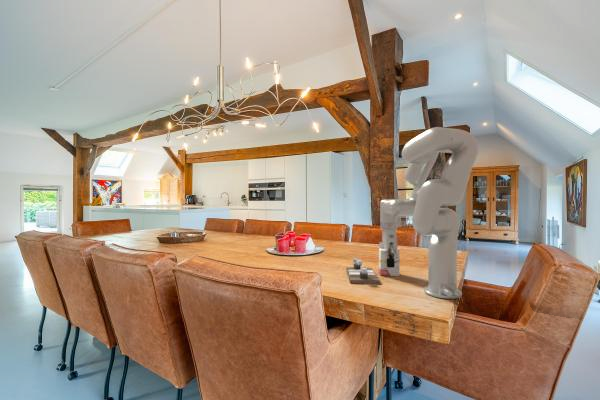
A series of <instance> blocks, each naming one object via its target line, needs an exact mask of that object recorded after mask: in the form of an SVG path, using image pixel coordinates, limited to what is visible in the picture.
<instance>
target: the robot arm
mask: <svg viewBox="0 0 600 400" xmlns="http://www.w3.org/2000/svg"><path fill="white" fill-rule="evenodd" d="M478 152H479V144H478V141H477V139H476V137H475V136H474V135H473V133H470V131H466V130H463V129H459V128H452V127H451V128H450V127H441V126H435V127H431V128H428V129H427V130H424V131H423V132H421V133H420V134H418V135H416V136H415V137H413V138H412V139H410V140H409V141H407V142H406V143H405V145H404V146H403V148H402V150H401V158H402V160H403V161H404V163H407V164H408V166H407V168H406V171H405V173H404V176H403V178H404V180H405V181H406V182H407V183H409V184H410V185H412V186H413V189H412V193H411V194H410V197H409V198H397V199H396V198H395V199H389V198H388V199H382V200H381V201H380V203H379V208H380V209H379V211H380V212H379V215H380V216H379V219H380V221H379V222H380V223H379V224H380V225H379V226H380V230H382V232H381V233H382V235H381V237H382V241H381V242H383V249H385V250H386V252H387V257H388V258H387V267H394V251H396V252H397V249H398V237H397V230H398V218H399V217H410V216H411V221H412V222H411V223H412V227H413V229H414V231H415V232H416V234H418V235H421V236H430V238H429V241H428V246H427V247H428V248H427V249H428V252H427V253H428V255H427V256H428V262H427V263H428V266H427V267H428V276H427V277H428V285H426V286H424V287H423V292H424V293H425V294H427V295H428V296H431V297H433V298H434V297H435V298H439V299H445V300H447V299H448V300H449V299H450V300H453V299H459V298H461V297H462V296H463V292H462V291H461V290H460V289H459V288H458V237H459V236H458V235H459V233H460V225H461V219H460V216H459V214H458V213H457V212H456V211H455V210H453V209H452V208H448V207H453V206H457V205H459V204H460V203H461V202H462V201H463V199H464V197H465V193H466V189H467V185H468V184H469V183H468V182H469V180H470V176H471V173H472V170H473V166H474V164H475V162H476V159H477V156H478ZM439 153H443V154H445V153H446V154H451V156H450V157H449V158H448V159H447V161H446V163H445V164H444V166H443V170H442V173H441V177H440V178H439V179H438V178H437V179H436V178H434V179H433V178H432V179H429V180H427V179H428V177H429V175H430V172H431V171H432V170H433V167H434V166H435V163H436V161H437V159H438V157H439ZM388 250H390V251H388ZM389 253H390V254H389Z"/></svg>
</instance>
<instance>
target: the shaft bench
mask: <svg viewBox="0 0 600 400" xmlns="http://www.w3.org/2000/svg"><path fill="white" fill-rule="evenodd" d="M352 263H353V267H350V266H349V267H346V270H345V271H346V273H347V276H348V277H347V278H348V281H349V283H350V284H357V285H358V284H361V285H362V284H366V285H372V284H373V285H379V284H380V279H379V278H378V275H377V274H376V273H375V271H374V270H373V268H372V267H366V265H363V261H362V260H361V259H359V258H357V257H356V258H352Z"/></svg>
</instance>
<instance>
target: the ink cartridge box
mask: <svg viewBox="0 0 600 400" xmlns="http://www.w3.org/2000/svg"><path fill="white" fill-rule="evenodd" d="M378 246H379V248H378V274H379V275H380V276H381V277H382V276H384V277H390V276H391V277H400V259H401V258H400V257H401V256H400V254H401V253H400V252H401V251H400V249H398V248H397V252H396V251H394V267H387V258H388V257H387V252H386V250H385V249H383V242H382V241H380V242H379V245H378ZM388 251H390V250H388ZM389 254H390V253H389Z"/></svg>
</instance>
